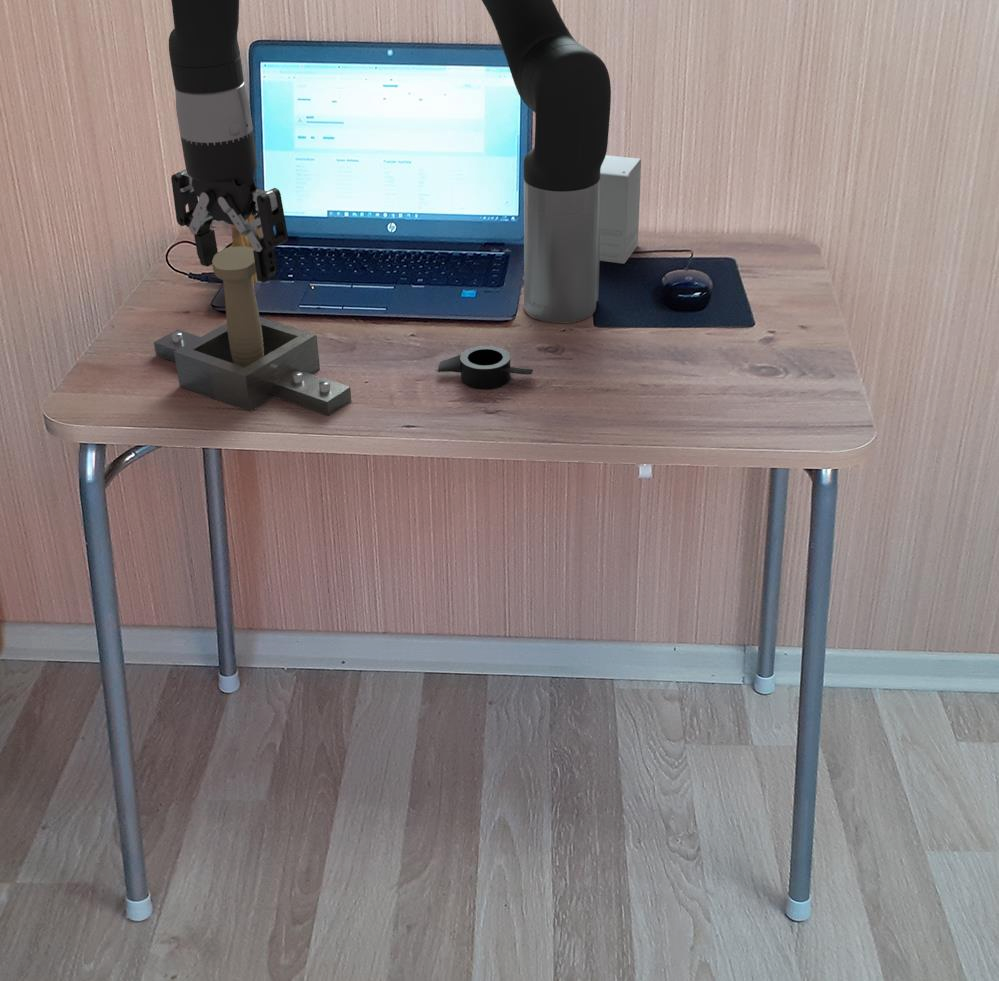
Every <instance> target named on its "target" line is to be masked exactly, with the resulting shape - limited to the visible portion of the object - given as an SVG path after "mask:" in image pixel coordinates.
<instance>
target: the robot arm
mask: <svg viewBox="0 0 999 981" xmlns="http://www.w3.org/2000/svg"><path fill="white" fill-rule="evenodd" d="M481 1H482V4H483V5H484V7H485V9H486V11H487V12H488V14H489V16H490V18H491V20H492V23H493V26H494V27H495V30H496V34H497V35H498V39H499V41H500V45H501V48H502V51H503V53H504V56H505V59H506V62H507V66H508V67H509V70H510V71H509V72H510V74H511V77H512V80H513V83H514V86H515V88H516V91H517V94H518V95H519V97H520V99H521V100H522V102H523V103H524V104H525V105H526V106H527V107H528V108H529V110H531V111H532V112H534V113H535V116H534V117H535V118H534V120H535V121H534V122H535V124H534V125H535V126H534V128H535V129H534V147H533V148H532V149H530V150H529V151H528V152H527V153H526V154H525V156H524V159H523V308H524V312H525V313H526V314H527V315H528V316H530V317H531V318H533V319H535V320H538V321H541V322H545V323H553V324H567V323H575V322H579V321H584V320H585V319H587V318H589V317H591V316H592V315H594V313H595V312H596V311H597V310H596V309H597V302H598V301H599V289H600V288H599V287H600V286H599V284H600V262H601V261H600V232H599V231H598V229H599V192H600V170H601V165H602V163H603V161H604V159H605V156H606V155H607V152H608V143H609V131H610V117H611V100H612V91H611V89H612V87H611V79H610V73H609V71H608V68H607V65H606V64H605V62H604V61H603V60H602V59H601V57H600V56H598V55H597V54H596V53H595V52H593V51H592V50H590V49H589V48H586V47H585V46H583V45H582V44H581V43H579V42H578V41H576V39H575V38H574V36H572V34H571V33H570V31H569V28H567V26H566V24H565V23H564V20H563V19H562V16H561V15H560V13H559V11H558V8H557V6H556V4H555V3H554V0H481ZM171 8H172V18H173V29H172V31H170V34H169V38H168V53H169V60H170V66H171V72H172V73H171V74H172V80H173V85H174V91H175V93H174V94H175V110H176V118H177V124H178V129H179V135H180V140H181V141H180V142H181V147H182V154H183V161H184V164H185V165H184V167H185V169H183V170H181V171H178V172H176V173H175V174H173V175H171V177H170V178H171V186H172V194H173V195H172V196H173V203H174V209H175V210H174V211H175V218H176V222H177V224H178V225H179V226H180V227H184V226H186V227H187V228H188V229H189V232H190V233H191V234H193V236H194V244H195V248H196V249H195V250H196V254H197V256H198V259H199V263H200V265H201V266H204V267H210V266H213V265H212V260H213V257H214V256H215V254H217V253H218V252H219V251H218V244H217V239H216V232H215V229H212V228H211V227H213V225H214V223H215V221H218V222H225V223H227V224H228V225H231V226H232V225H235V226H236V228H237V229H238V231H239V232H240V234H242V235H245V236H246V237H247V238H248V240H249V241H250V243H251V245H252V246H253V248H254V249H255V250H254V251H253V253H254V260H255V267H256V274H257V280H258V281H261V282H263V283H266V282H268V281H270V280H272V279H273V278H274V277H275V276H276V274H277V271H278V267H277V262H276V260H277V259H276V253H275V248H277V247H278V246H280V245H282V244H285V243H286V242H288V241H289V235H288V229H287V223H286V217H285V212H284V207H283V206H284V205H283V201H282V195H281V191H280V190H279V189H278V188H276V187H274V188H271V189H269V190H265V189H264V190H262V189H259V187H258V186H257V183H256V182H255V174H256V170H257V168H258V157H257V156H258V155H257V150H256V149H257V148H256V141H255V134H254V127H253V120H252V113H251V105H250V101H249V96H248V93H247V90H246V85H245V81H244V80H245V79H244V72H243V71H244V70H243V65H242V58H241V57H242V56H241V52H240V46H239V41H238V29H239V23H240V22H239V21H240V20H239V19H240V0H171ZM187 206H188V207H187ZM187 208H188V211H187ZM251 213H252V215H253V217H254V219H255V220H253V221H251V222H246V221H245V220H246V219H248V218H249V217H250V215H251ZM274 228H275V231H274ZM255 229H258V230H259V232H260V233H261V235H262V236H263V237H262V238H259V236H258V234H257V233H256V231H255Z"/></svg>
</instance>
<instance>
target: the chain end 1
mask: <svg viewBox="0 0 999 981" xmlns="http://www.w3.org/2000/svg"><path fill="white" fill-rule="evenodd" d="M259 317H260V322H261V328H262V336H263V347H264V356H265V355H267V354H269V353H270V352H272V351H274V350H275V346H274V338H273V330H272V328H273V327H275V326H277V325H279V324H280V323H281V322H278V321H274V320H272V319H270V318H265V317H261V316H259ZM153 346H154V351H155V356H157V357H159V358H162V359H166V360H168V361H171V362H173V363H175V365H176V371H177V372H176V373H177V378H178V379H177V380H178V384H179V387H181V388H183V389H186V390H189V391H191V392H195V393H197V394H199V395H203V396H206V397H208V398H211V399H214V393H213V386H212V380H211V373H210V367H209V364H210V363H211V362H213V361H215V360H217V359H218V358H219V359H222V360H224V361H227V362H230V363H233V359H232V355H231V350H230V345H229V339H228V331H227V322H226V323H224V324H222V325H221V326H219V327H216V328H214V329H213V330H211V331H209V332H207V333H206V334H204V335H202V336H199V335H196V334H193V333H189V332H187V331H184V330H181V329H176V330H174V331H172V332H170V333H168V334H166V335H164V336H163V337H161V338H159V339H157V340H155V341H153ZM233 364H234V363H233ZM214 400H215V399H214Z"/></svg>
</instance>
